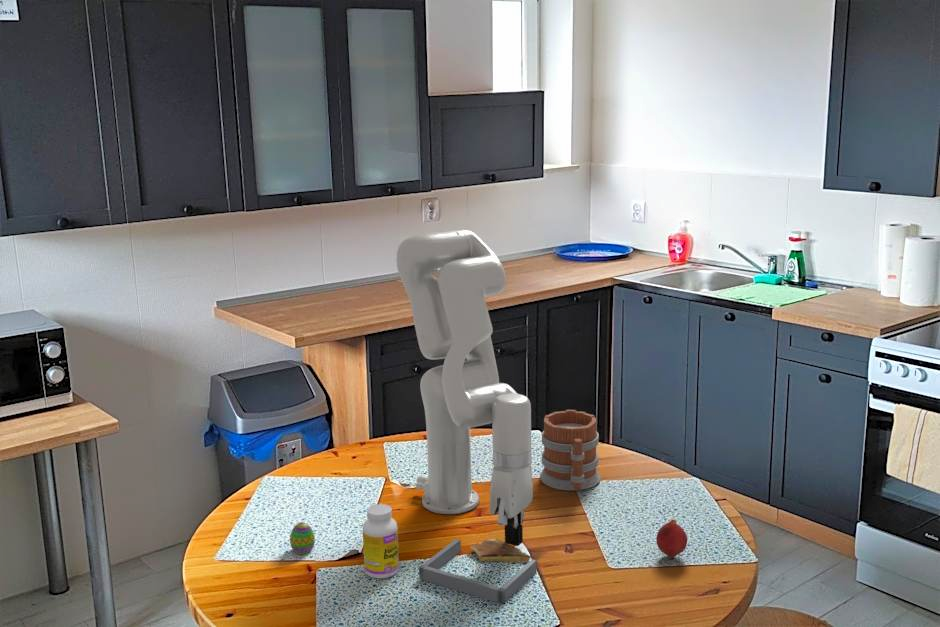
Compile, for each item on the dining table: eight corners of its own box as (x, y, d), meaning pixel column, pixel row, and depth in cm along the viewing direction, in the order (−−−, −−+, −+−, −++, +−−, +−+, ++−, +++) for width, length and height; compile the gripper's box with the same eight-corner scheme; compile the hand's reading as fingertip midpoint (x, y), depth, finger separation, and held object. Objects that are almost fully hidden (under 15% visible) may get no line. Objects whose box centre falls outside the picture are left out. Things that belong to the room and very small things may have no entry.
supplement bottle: (385, 583, 179) (382, 520, 176) (357, 574, 183) (354, 512, 180) (406, 567, 185) (403, 506, 182) (378, 559, 188) (375, 499, 185)
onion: (668, 567, 182) (669, 528, 181) (649, 554, 187) (650, 516, 186) (692, 559, 185) (694, 521, 183) (673, 547, 190) (674, 510, 188)
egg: (306, 542, 196) (304, 515, 194) (320, 550, 193) (318, 522, 191) (285, 550, 193) (283, 523, 191) (300, 558, 189) (298, 530, 188)
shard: (531, 563, 186) (531, 554, 185) (501, 576, 181) (501, 568, 181) (495, 543, 194) (495, 535, 194) (465, 555, 190) (465, 547, 189)
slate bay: (419, 579, 180) (419, 567, 180) (456, 550, 191) (456, 538, 190) (502, 604, 171) (502, 591, 170) (536, 572, 182) (536, 560, 181)
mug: (594, 466, 231) (594, 407, 227) (610, 500, 212) (610, 436, 208) (536, 468, 230) (535, 409, 226) (547, 503, 211) (546, 439, 208)
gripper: (513, 441, 195) (515, 524, 200) (476, 466, 183) (478, 554, 187) (546, 447, 192) (547, 532, 196) (510, 473, 179) (512, 563, 184)
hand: (513, 542), depth 192 cm, fingers closed
